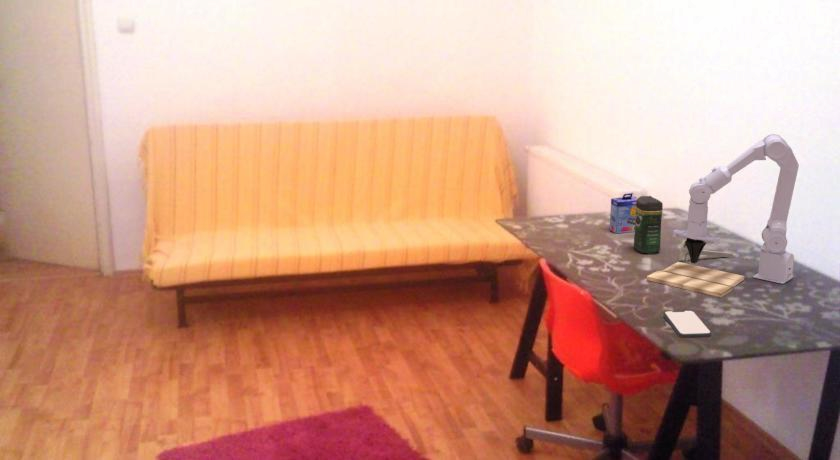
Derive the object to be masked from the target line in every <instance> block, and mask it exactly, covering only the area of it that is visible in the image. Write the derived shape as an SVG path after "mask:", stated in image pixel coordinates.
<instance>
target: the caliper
mask: <svg viewBox="0 0 840 460" xmlns="http://www.w3.org/2000/svg"><path fill="white" fill-rule="evenodd" d="M682 245H683V246H681V247H680V250H679V256H678V262H682V263H683V261H684V263H687V262H688V260H689V259H690V255H689V251H688V249H687V247H686V245H685V243H683V244H682ZM700 256H709V257H710V256H711V257H717V258H718V257H720V258H728V259H729V258H733V257H734V258H735V257H736V258H737V256H736V254H734V253H732V252H724V251H715V250H707V249H706V250H705V249H702V251H701V253H700Z"/></svg>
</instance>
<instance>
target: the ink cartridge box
mask: <svg viewBox="0 0 840 460" xmlns="http://www.w3.org/2000/svg"><path fill="white" fill-rule="evenodd" d="M633 194H634V193H633V192H631V193H624V194H623V195H622V197H614V198H611V199H610V215H609V216H610V217H609V231H611V232H613V233H614V234H621V233H622V234H624V233H625V234H626V233H635V224H636V201H637V199H638V198H639V197H636V196H633Z"/></svg>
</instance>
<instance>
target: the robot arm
mask: <svg viewBox="0 0 840 460" xmlns="http://www.w3.org/2000/svg"><path fill="white" fill-rule="evenodd" d="M766 157H767V158H768V159H770V160H771V161H773V162H775V163H776V164H777V166H778V167H780V170H779V173H778V179H777V183H776V188H775V193H774V198H773V202H772V207H771V212H770V215H769V218H768V220H767V223H766V225H765V227H764V228H763V230H762V232H761V239H762V241H763V244H762V245H761V246H760V250H759V251H760V252H759V263H758V272H757V273H756V274H754V275H753V276H752V277H753V278H755V279H759V280H764V281H768V282H772V283H778V284H785V283H786V282H788V281H790V280H791V279H793V278H794V275H793V272H794V262H795V256H794V253H791V252H789V251H787V246H788V239H787V230H788V229H787V224H788V217H789V211H790V208H791V204H792V199H793V195H794V189H795V185H796V181H797V176H798V171H799V162H798V159H797V158H796V156H795V154H794V152H793V149H792V147H791V146H790V145H789V144H788V142H787V141H786V140H785V139H784V138H782V137H781V135H779V134H775V133H770V134H768V135H766V136H765V137H764V138H763V139H760V140H758V141H757V142H755V143H754V144H753V145H752V146H750V147H749V148H748V149H746V150H745V151H743V152H742V153H741V154H740V155H738V157H736V158H735V159H733V160H732V161H731V162H730V163H728V164H727V165H726V166H718V167H716V166H715V167H713V168H712V169H711V171H710V173H708V174H706V175H705V176H704V177H700V178H699V179H698V181H696V182H694V183H692V184H691V185H690V187H689V190H688V193H689V195H690V196H689V197H690V198H689V205H688V213H687V224H686V225H687V227H686V230H680V229H674V230H673V232H672V233H673V235H672V237H673V238H682V239H685V241H684V244H685V245H686V247H687V249H688V251H689V255H690V257H689V259H690V264H697V263H698V262H699V258H700V256H701V255H700V253H701V251H702V250H704V247H705V246H706V244H713V245H714V246H718V245H720V242H721V241H720V239H721V237H718V236H715V235H714V236H713V235H710V234H708V233H707V228H708V227H707V225H708V215H709V214H708V212H709V206H708V204H709V202H708V201H709V200H710V199H711V196H712V195H713V194H716V193H717V192H718V191H720V189H722V188H724V187H725V186H726V185H728V184H730V183H731V182H732V179H733V176H734V175H735V174H736V173H738V172H740V171H741V170H743V169H744V168H746V167H747V166H748V165H750V164H752V163H753V162H755V161H766V160H767V158H766Z"/></svg>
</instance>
